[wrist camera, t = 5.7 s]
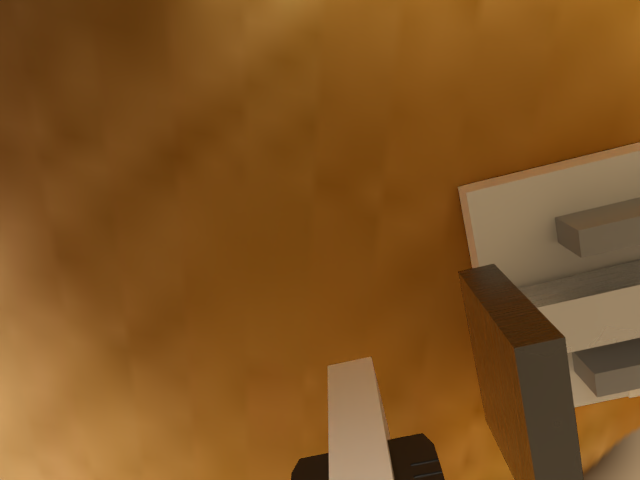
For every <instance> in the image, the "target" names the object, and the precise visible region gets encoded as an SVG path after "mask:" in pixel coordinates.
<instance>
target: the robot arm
mask: <svg viewBox="0 0 640 480" xmlns="http://www.w3.org/2000/svg"><path fill="white" fill-rule="evenodd" d="M328 443H329V453H326V454H321V455H316V456H311V457H306V458H301V459H299V461H298V463H297V465H296V466H295V468H294V470H293V472H292V475H291V480H445V479H444V476H443V473H442V469H441V466H440V463H439V460H438V456H437V453H436V450H435V447H434V444H433V443H432V442H431V441H430V440H429V439H428V438H427V437H426V436H425V435H424V434H423V433H421V434H416V435H411V436H406V437H401V438H396V439H391V440H390V435H389V429H388V424H387V420H386V416H385V412H384V407H383V403H382V399H381V395H380V391H379V386H378V382H377V378H376V374H375V370H374V365H373V361H372V357H367V358H362V359H357V360H352V361H348V362H343V363H338V364H333V365H329V366H328Z"/></svg>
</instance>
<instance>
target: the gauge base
mask: <svg viewBox="0 0 640 480" xmlns="http://www.w3.org/2000/svg"><path fill="white" fill-rule="evenodd" d="M458 191H459V197H460V202H461V208H462V213H463V219H464V225H465V230H466V236H467V241H468V247H469V252H470V258H471V264H472V268H477V267H481V266H485V265H489V264H495V265H496V266H497V267H498V268H499V269H500V270H501V271H502V272H503V273H504V274H505V275H506V277H507V278H508V279H509V280H510V281H511V282H512V283H513V284H514V285H515V286H516V287H517V288H520V287H524V286H529V285H533V284H537V283H542V282H546V281H551V280H555V279H559V278H564V277H568V276H573V275H577V274H581V273H586V272H590V271H595V270H599V269H604V268H608V267H612V266H617V265H621V264H626V263H630V262H634V261H639V260H640V142H638V143H634V144H630V145H626V146H622V147H618V148H614V149H610V150H606V151H602V152H597V153H593V154H589V155H585V156H581V157H577V158H573V159H569V160H565V161H561V162H557V163H553V164H548V165H544V166H540V167H536V168H532V169H528V170H524V171H520V172H516V173H512V174H508V175H503V176H499V177H495V178H491V179H487V180H483V181H479V182H475V183H471V184H467V185H463V186H459V187H458ZM567 355H568V363H569V371H570V378H571V386H572V394H573V402H574V407H579V406H584V405H589V404H594V403H599V402H603V401H608V400H613V399H618V398H623V397H629V398H633V397H638V396H640V338H636V339H631V340H626V341H622V342H617V343H612V344H608V345H603V346H598V347H594V348H589V349H585V350H580V351H575V352H571V353H567Z"/></svg>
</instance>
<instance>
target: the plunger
mask: <svg viewBox="0 0 640 480" xmlns="http://www.w3.org/2000/svg"><path fill="white" fill-rule="evenodd" d="M458 274H459V279H460V284H461V290H462V295H463V300H464V306H465V311H466V316H467V322H468V327H469V332H470V338H471V343H472V348H473V354H474V359H475V364H476V370H477V375H478V380H479V386H480V391H481V396H482V402H483V407H484V412H485V417H486V422H487V424H488V426H489V428H490V430H491V432H492V434H493V436H494V438H495V440H496V442H497V444H498V446H499V448H500V450H501V452H502V455H503V457H504V459H505V461H506V463H507V465H508V467H509V469H510V471H511V473H512V475H513V477H514V479H515V480H584V479H583V471H582V464H581V456H580V448H579V440H578V433H577V425H576V417H575V409H574V402H573V394H572V386H571V378H570V371H569V363H568V355H567V353H571V352H575V351H580V350H585V349H589V348H594V347H598V346H603V345H608V344H612V343H617V342H622V341H626V340H631V339H636V338H640V260H639V261H634V262H630V263H626V264H621V265H617V266H612V267H608V268H604V269H599V270H595V271H590V272H586V273H581V274H577V275H573V276H568V277H564V278H559V279H555V280H551V281H546V282H542V283H537V284H533V285H529V286H524V287H520V288H517V287H516V286H515V285H514V284H513V283H512V282H511V281H510V280H509V279H508V278H507V277H506V275H505V274H504V273H503V272H502V271H501V270H500V269H499V268H498V267H497V266H496V265H495V264H489V265H485V266H481V267H477V268H472V269H468V270H464V271H459V272H458Z"/></svg>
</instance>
